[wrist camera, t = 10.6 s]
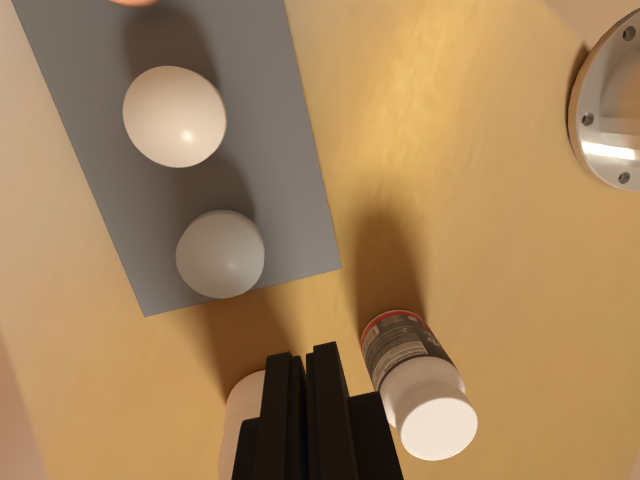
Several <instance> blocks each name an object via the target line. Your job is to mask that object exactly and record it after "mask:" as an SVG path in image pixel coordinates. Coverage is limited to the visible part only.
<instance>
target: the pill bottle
mask: <svg viewBox="0 0 640 480" xmlns="http://www.w3.org/2000/svg"><path fill="white" fill-rule="evenodd" d="M361 352H362V355H363V358H364V361H365V364H366V367H367V370H368V373H369V375H370V378H371V381H372V384H373V387H374V390H375V391H380V394H381V398H382V401H383V405H384V409H385V412H386V416H387V420H388V422H389V423H390V424H391V425H392V426H394V427H395V428H396V429H397V432H398V434H399V437H400V439H401V442H402V444H403V446H404V447H405V449H406V450H407V451H408V452H409V453H410V454H412V455H413V456H415V457H417V458H420V459H424V460H441V459H445V458H449V457H451V456H453V455H455V454H457V453H459V452H460V451H462V450H463V449H464V448H465V447H466V446H467V445H468V444H469V443H470V442H471V440H472V439H473V437H474V435H475V433H476V430H477V423H478V422H477V415H476V413H475V411H474V409H473V407H472V405H471V404H470V402H469V400H468V398H467V396H466V395H465V386H464V382H463V379H462V377H461V375H460V373H459V371H458V370H457V368H456V367H455V365H454V364H453V362H452V361H451V359H450V358H449V357H448V355H447V353H446V352H445V351H444V349H443V348H442V346H441V345H440V343H439V342H438V340H437V339H436V337H435V336H434V334H433V333H432V331H431V330H430V328H429V327H428V325H427V324H426V323H425V322H424V320H423V319H422V318H421V317H419V316H418V315H416V314H415V313H412V312H410V311H406V310H391V311H387V312H384V313H382V314H380V315H378V316H376V317H375V318H374V319H373V320H371V321H370V322H369V324H368V325H367V326H366V328H365V329H364V331H363V334H362V337H361Z"/></svg>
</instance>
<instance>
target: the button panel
mask: <svg viewBox="0 0 640 480" xmlns="http://www.w3.org/2000/svg"><path fill="white" fill-rule="evenodd" d="M11 1H12V3H13V6H14V8H15V10H16V13H17V15H18V17H19V20H20V22H21V25H22V27H23V29H24V32H25V34H26V36H27V39H28V41H29V44H30V46H31V48H32V51H33V53H34V56H35V58H36V60H37V63H38V65H39V67H40V70H41V72H42V75H43V77H44V79H45V82H46V84H47V87H48V89H49V91H50V94H51V96H52V98H53V101H54V103H55V106H56V108H57V110H58V113H59V115H60V117H61V120H62V122H63V125H64V127H65V129H66V132H67V134H68V137H69V139H70V141H71V144H72V146H73V148H74V151H75V153H76V156H77V158H78V160H79V163H80V165H81V168H82V170H83V172H84V175H85V177H86V179H87V182H88V184H89V187H90V189H91V191H92V194H93V196H94V198H95V201H96V203H97V206H98V208H99V210H100V213H101V215H102V218H103V220H104V222H105V225H106V227H107V229H108V232H109V234H110V237H111V239H112V241H113V244H114V246H115V249H116V251H117V253H118V256H119V258H120V260H121V263H122V265H123V268H124V270H125V272H126V275H127V277H128V279H129V282H130V284H131V287H132V289H133V291H134V294H135V296H136V299H137V301H138V303H139V306H140V308H141V310H142V313H143V315H144V317H148V316H152V315H156V314H160V313H164V312H168V311H172V310H176V309H180V308H184V307H188V306H192V305H196V304H200V303H204V302H208V301H212V300H217V299H221V298H212V297H208V296H205V295H202V294H200V293H198V292H197V291H195V290H193V289H192V288H191V287H190V286H189V285H188V284H187V283H186V282H185V281H184V280H183V278H182V277H181V275H180V273H179V271H178V268H177V265H176V248H177V245H178V242H179V240H180V238H181V237H182V235H183V234H184V232H185V231H186V229H187V228H188V226H189V225H190V224H191V223H192V221H193V220H195V219H196V218H197V217H199V216H200V215H202V214H204V213H206V212H209V211H213V210H231V211H235V212H238V213H240V214H243V215H244V216H246V217H248V218H249V219H250V220H251V221H253V223H254V224H255V225H256V226H257V227H258V229H259V230H260V232H261V234H262V237H263V240H264V245H265V253H264V266H263V270H262V273H261V275H260V277H259V279H258V280H257V282H256V283H255V284H254V285H253V286H252V287H251V288H250V289H249V290H247V291H246V292H249V291H253V290H257V289H261V288H265V287H269V286H273V285H277V284H281V283H285V282H289V281H294V280H298V279H302V278H306V277H310V276H314V275H318V274H322V273H326V272H330V271H334V270H338V269H342V266H341V261H340V257H339V252H338V248H337V243H336V238H335V234H334V229H333V225H332V220H331V216H330V211H329V207H328V202H327V198H326V193H325V189H324V184H323V179H322V175H321V170H320V166H319V161H318V157H317V152H316V148H315V143H314V139H313V134H312V130H311V125H310V120H309V116H308V111H307V107H306V102H305V98H304V93H303V89H302V84H301V80H300V75H299V71H298V66H297V61H296V57H295V52H294V48H293V43H292V39H291V34H290V30H289V25H288V21H287V16H286V12H285V7H284V2H283V0H161V1H159V2H158V3H156V4H154V5H151V6H148V7H143V8H129V7H124V6H120V5H118V4H115V3H113V2H111V1H109V0H11ZM160 66H176V67H181V68H185V69H188V70H190V71H193V72H196V73H198V74H200V75H201V76H203V77H205V78H206V79H207V80H209V81H210V82H211V83H212V84H213V85H214V86H215V88H216V89H217V90H218V92H219V93H220V95H221V97H222V99H223V101H224V103H225V106H226V110H227V117H228V123H227V130H226V134H225V137H224V139H223V141H222V143H221V144H220V146H219V147H218V148H217V149H216V151H214V152H213V153H212V154H211V155H210V156H209V157H208V158H206V159H205V160H203V161H202V162H200V163H198V164H196V165H192V166H189V167H179V168H177V167H169V166H164V165H162V164H159V163H157V162H154V161H152V160H151V159H149V158H148V157H146V156H145V155H144V154H143V153H141V152H140V151H139V149H138V148H137V147H136V146H135V145H134V143H133V142H132V140H131V139H130V137H129V135H128V133H127V131H126V128H125V124H124V119H123V103H124V99H125V95H126V93H127V90H128V89H129V87H130V85H131V84H132V83H133V81H134V80H135V79H136V78H137V77H138V76H139V75H141V74H142V73H144V72H145V71H147V70H150V69H152V68H155V67H160ZM244 293H245V292H244Z"/></svg>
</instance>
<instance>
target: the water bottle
mask: <svg viewBox="0 0 640 480" xmlns="http://www.w3.org/2000/svg"><path fill="white" fill-rule="evenodd" d="M264 376H265V370H262V371H258V372H255V373H252V374H250V375H248V376H246V377H245V378H243V379H242V380H241V381H239V382H238V383H237V384H236V385H235V387H234V388H233V389H232V391H231V393H230V395H229V397H228V400H227V404H226V410H225V418H224V435H223V438H222V441H221V446H220V451H219V458H218V480H231V478H232V472H233V466H234V461H235V455H236V449H237V443H238V438H239V432H240V427H241V423H242V422H243V420H246V419H251V418H256V417H260V409H261V401H262V393H263V384H264Z"/></svg>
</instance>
